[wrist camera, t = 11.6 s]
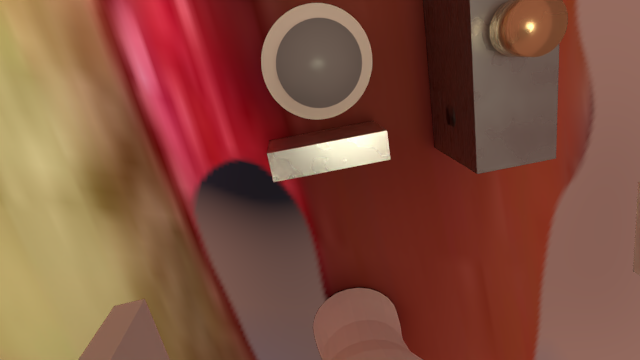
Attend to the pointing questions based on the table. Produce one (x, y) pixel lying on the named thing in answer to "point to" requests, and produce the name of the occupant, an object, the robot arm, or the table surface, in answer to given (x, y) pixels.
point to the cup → (359, 328)
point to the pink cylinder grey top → (316, 61)
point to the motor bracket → (463, 93)
